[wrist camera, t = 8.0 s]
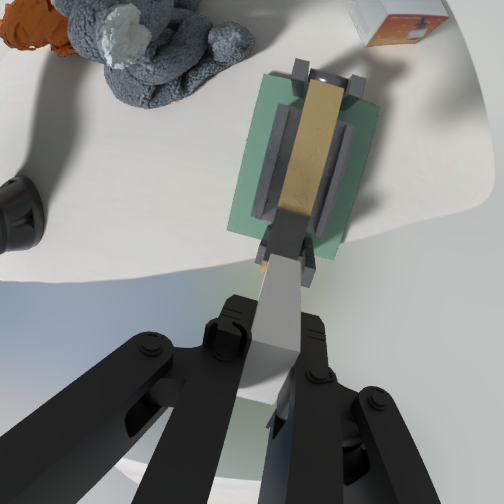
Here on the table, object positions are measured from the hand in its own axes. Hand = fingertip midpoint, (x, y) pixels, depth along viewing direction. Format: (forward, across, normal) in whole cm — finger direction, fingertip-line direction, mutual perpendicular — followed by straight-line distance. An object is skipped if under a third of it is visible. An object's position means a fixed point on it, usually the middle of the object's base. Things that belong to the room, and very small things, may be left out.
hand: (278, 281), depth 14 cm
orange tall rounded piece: (+22, -39, +22) cm, 50 cm away
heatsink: (+22, 0, +4) cm, 22 cm away
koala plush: (+22, -20, +16) cm, 34 cm away
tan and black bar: (+13, 0, +4) cm, 14 cm away
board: (+22, 0, +4) cm, 22 cm away
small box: (+22, +6, +27) cm, 35 cm away
